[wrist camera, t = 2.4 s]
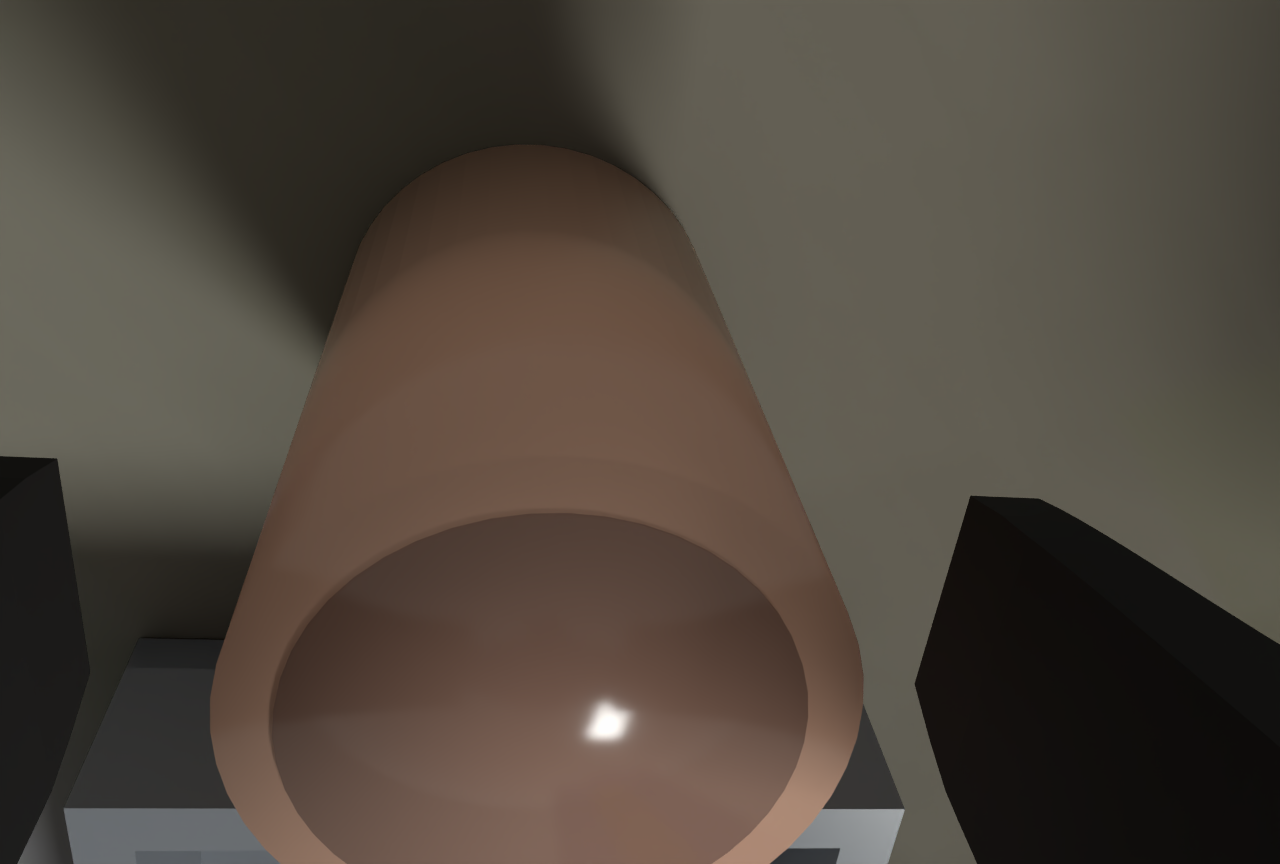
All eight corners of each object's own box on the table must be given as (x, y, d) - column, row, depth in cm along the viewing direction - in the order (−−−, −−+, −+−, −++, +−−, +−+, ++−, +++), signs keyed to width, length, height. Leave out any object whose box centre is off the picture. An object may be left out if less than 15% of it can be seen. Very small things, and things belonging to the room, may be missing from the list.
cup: (732, 160, 13) (933, 476, 7) (683, 484, 15) (802, 947, 9) (342, 127, 12) (182, 442, 6) (347, 470, 14) (228, 957, 8)
